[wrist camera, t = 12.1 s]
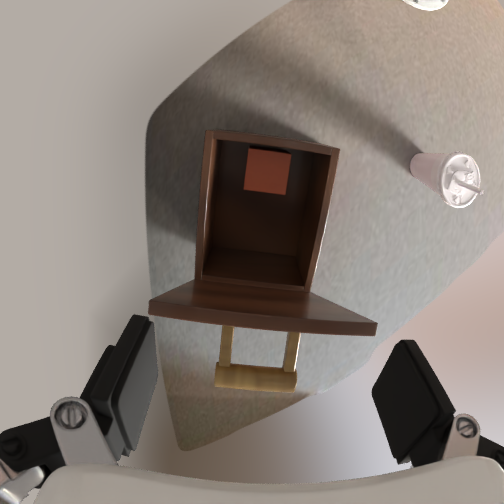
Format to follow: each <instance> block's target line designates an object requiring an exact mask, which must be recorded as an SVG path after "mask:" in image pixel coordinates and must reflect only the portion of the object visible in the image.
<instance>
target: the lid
mask: <svg viewBox="0 0 504 504" xmlns="http://www.w3.org/2000/svg"><path fill="white" fill-rule="evenodd" d="M148 314H149V315H154V316H160V317H167V318H173V319H180V320H187V321H194V322H201V323H209V324H216V325H223V326H222V335H221V345H220V355H219V362H217V363H216V369H215V378H214V386H217V387H225V388H235V389H245V390H257V391H272V392H292V393H293V392H294V391H295V389H296V385H297V371H296V369H295V366H296V360H297V354H298V347H299V341H300V334H301V333H312V334H329V335H351V336H376V331H377V325H378V323H377V322H374V321H372V320H370V319H368V318H366V317H363V316H361V315H359V314H357V313H355V312H352V311H350V310H348V309H346V308H344V307H342V306H339V305H337V304H335V303H333V302H331V301H329V300H326V299H324V298H322V297H320V296H318V295H316V294H314V293H311V292H304V291H294V290H284V289H275V288H265V287H256V286H247V285H239V284H230V283H222V282H213V281H205V280H198V279H194V280H191V281H189V282H187V283H185V284H183V285H181V286H179V287H177V288H174V289H172V290H170V291H168V292H166V293H164V294H162V295H160V296H157V297H155V298H153V299H151V300H150V301H149V308H148ZM234 327H242V328H252V329H262V330H273V331H284V332H288V334H287V341H286V347H285V354H284V361H283V367H282V368H278V367H264V366H253V365H242V364H232V363H230V362H231V353H232V344H233V335H234Z"/></svg>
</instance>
